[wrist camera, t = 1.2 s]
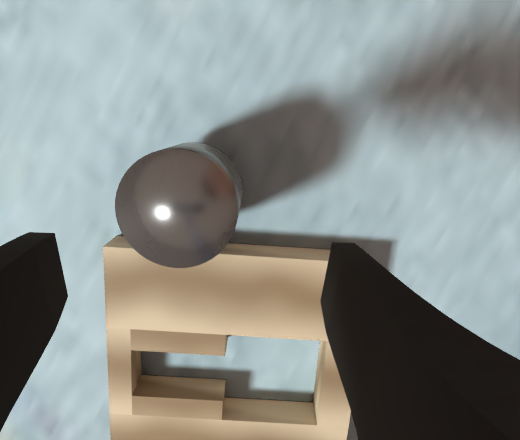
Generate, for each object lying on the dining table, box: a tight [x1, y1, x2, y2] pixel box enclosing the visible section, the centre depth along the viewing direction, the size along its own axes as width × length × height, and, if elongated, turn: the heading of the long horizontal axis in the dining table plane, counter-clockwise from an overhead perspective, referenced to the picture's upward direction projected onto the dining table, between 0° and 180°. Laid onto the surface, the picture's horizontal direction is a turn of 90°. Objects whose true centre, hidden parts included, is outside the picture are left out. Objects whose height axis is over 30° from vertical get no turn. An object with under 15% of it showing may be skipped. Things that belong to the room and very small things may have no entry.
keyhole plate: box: [103, 236, 351, 440], centre depth 24 cm, size 16×15×2 cm
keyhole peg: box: [115, 143, 242, 268], centre depth 19 cm, size 5×5×7 cm
